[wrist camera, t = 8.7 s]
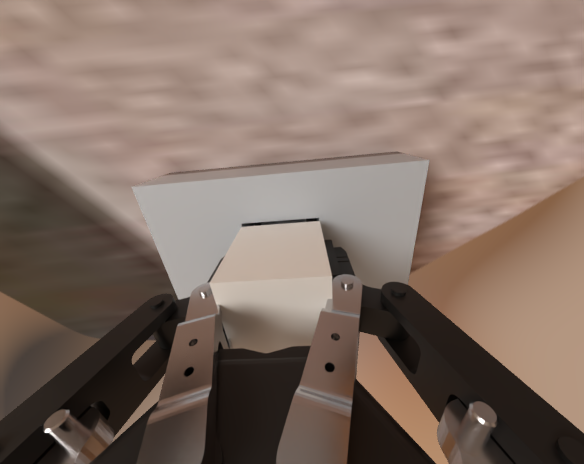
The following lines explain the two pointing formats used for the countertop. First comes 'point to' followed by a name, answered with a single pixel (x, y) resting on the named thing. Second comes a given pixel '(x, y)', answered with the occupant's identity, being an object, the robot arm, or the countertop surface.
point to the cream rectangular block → (273, 285)
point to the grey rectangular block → (289, 212)
